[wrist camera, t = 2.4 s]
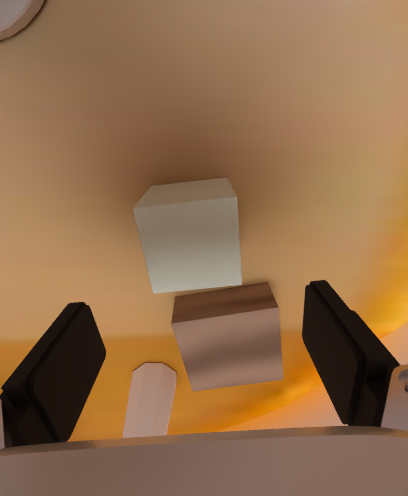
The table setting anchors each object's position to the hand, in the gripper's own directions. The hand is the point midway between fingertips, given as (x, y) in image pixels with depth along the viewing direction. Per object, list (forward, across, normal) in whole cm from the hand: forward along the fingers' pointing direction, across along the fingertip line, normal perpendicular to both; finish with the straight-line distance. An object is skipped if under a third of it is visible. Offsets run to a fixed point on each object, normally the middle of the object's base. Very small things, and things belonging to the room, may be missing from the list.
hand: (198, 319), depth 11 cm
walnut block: (+12, -1, +11) cm, 16 cm away
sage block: (+12, +1, -1) cm, 12 cm away
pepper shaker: (+12, +8, +18) cm, 23 cm away
